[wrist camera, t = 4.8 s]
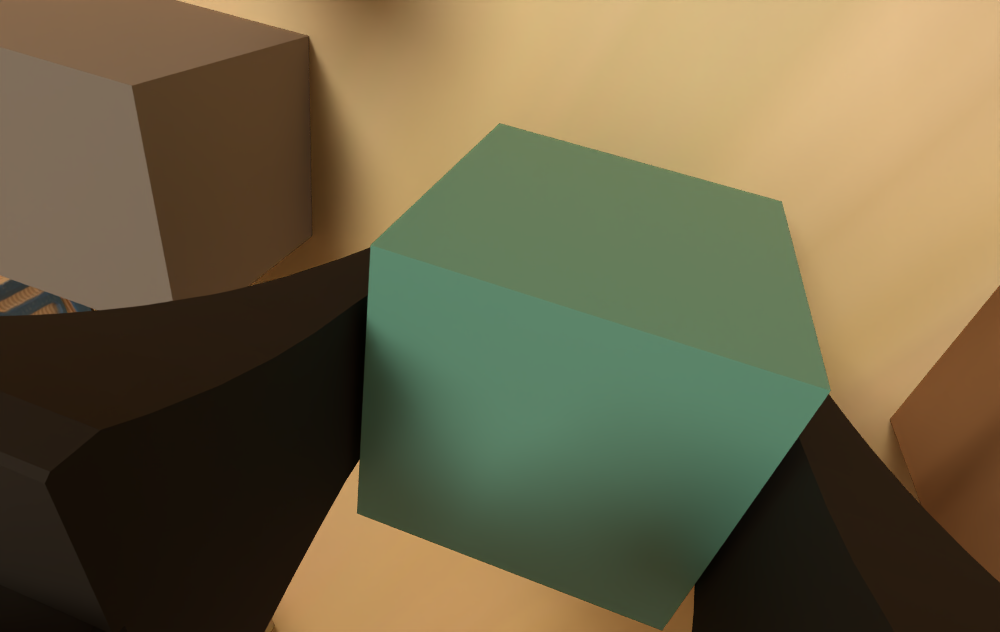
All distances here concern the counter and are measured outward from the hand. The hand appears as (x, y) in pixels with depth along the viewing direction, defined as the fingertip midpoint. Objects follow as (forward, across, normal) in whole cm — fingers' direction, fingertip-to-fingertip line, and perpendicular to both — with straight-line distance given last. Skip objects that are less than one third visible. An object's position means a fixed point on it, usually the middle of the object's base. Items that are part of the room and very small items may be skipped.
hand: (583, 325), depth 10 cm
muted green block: (+2, 0, 0) cm, 2 cm away
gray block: (+4, +10, 0) cm, 11 cm away
